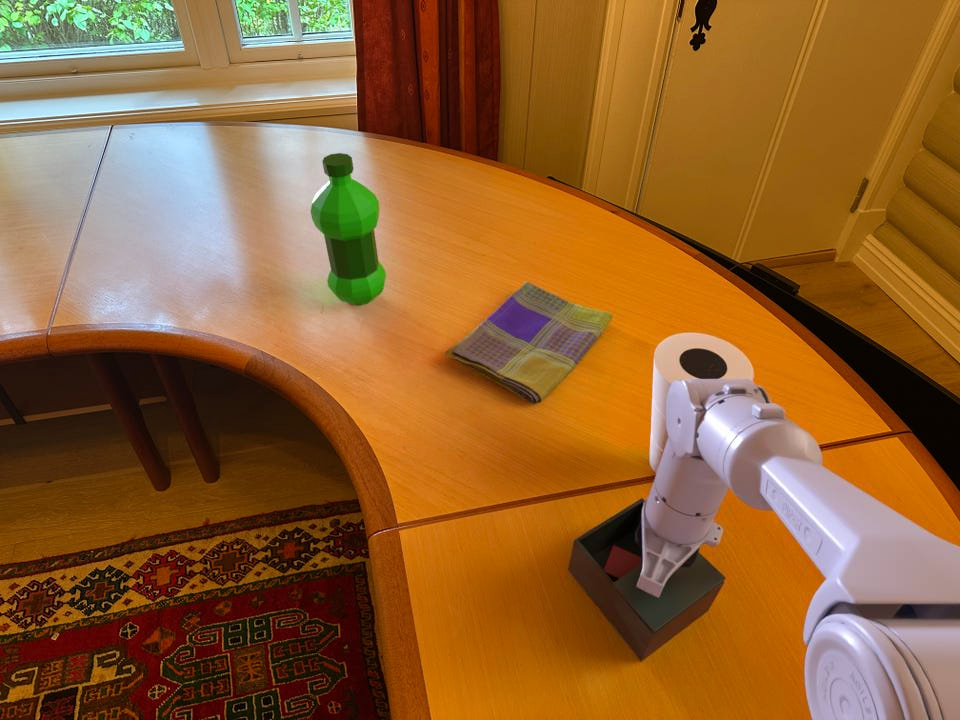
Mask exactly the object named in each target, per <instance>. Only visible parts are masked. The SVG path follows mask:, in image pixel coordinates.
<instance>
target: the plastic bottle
mask: <svg viewBox="0 0 960 720" xmlns="http://www.w3.org/2000/svg"><path fill="white" fill-rule="evenodd" d="M322 167H323V172H324V174H325V175H326V176H328V181H327V183H325V184H324V185H323V186H322V187H321V188H320V189H319V191H317V192H316V193H315V195H314V198H313V200H312V203H311V208H310V216H311V219H312V223H313V224H314V226H315V228H316V229H317V230H319V232H320V233H322V234H323V237H324V242H325V247H326V252H327V257H328V261H329V267H330V269H329V273H328V277H327V286H328V288H329V290H330V291H331V292H332V293H333V294H334V295H335V297H337V299H338V300H339V301H341V302H344V303H348V304H349V305H351V306H357V307H358V306H364V305H368V304H370V303H371V302H372V301H374V300H375V299H376V298H377V297H378V296H380V295H381V294H382V293H383V291H384V288H385V283H386V279H387V274H386V269H385V268H384V266H383V264H381V262H380V261H379V255H378V249H377V241H376V233H375V229H376V228H377V225H378V221H379V217H380V201H379V199H378V197H377V196H376V194H375V193H374V192H373V191H371V190H370V189H369V187H367V186H365V185H363V184H362V183H361V182H359V181H357V180H355V179H353V178H352V174H353V173H354V163H353V157H352V156H351V155H349V154H348V153H341V152H337V153H331V154H328V155H326V156H325V157H323V158H322Z"/></svg>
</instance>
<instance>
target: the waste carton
mask: <svg viewBox="0 0 960 720" xmlns="http://www.w3.org/2000/svg"><path fill="white" fill-rule="evenodd" d="M645 500H646V499H644V498H643V497H641V498H639V499H638V500H636V501H635V502H633V503H631V504H630V505H627V506H626V507H625V508H623V509H622V510H619V511H618V512H617V513H615V514H613V515H612V516H610V517H608V518H606V520H604V521H602V522H601V523H599V524H597V525H596V526H594V527H593V528H591V529H589V530H587V531H586V532H584V533H583V534H581V535H579V536H578V537H576V538H574V539H573V542H572V546H571V547H572V548H571V552H570V558H569V563H568V567H567V571H568V572H569V573H570V574H571V576H572V577H573V578H574V580H575V581H576V582H577V583H578V585H579V586H580V587H581V588H582V590H583V591H584V592H585V593H586V595H587V596H588V597H589V599H590V601H592V602H593V603H594V605H595V606H596V607H597V608H598V610H599V611H600V612H601V614H602V615H603V616H604V617H605V618H606V620H607V621H608V622H609V624H610V625H611V626H612V627H613V629H614V630H615V631H616V632H617V634H618V635H619V636H620V637H621V639H622V640H623V641H624V643H625V644H626V645H627V646H628V648H629V649H630V650H631V651H632V652H633V654H634V655H635V657H637V659H638V660H639V662H643V661H644V660H646V659H647V658H648V657H650V656H651V655H652V654H654V653H655V652H656V651H657V650H659V649H660V648H661V647H663V646H664V645H666V644H667V643H668V642H670V641H671V640H672V639H673V638H675V637H676V636H677V635H679V634H680V633H682V632H683V631H684V630H685V629H686V628H688V627H689V626H691V624H693V623H694V622H696V621H697V620H698V619H700V618H701V617H703V615H705V614H706V613H707V612H709V610H710V609H711V607H712V605H713V604H714V602H715V600H716V598H717V597H718V595H719V593H720V591H721V589H723V586H724V584H725V580H724V581H723V582H722V583H720V584H719V585H717V586H716V587H715V588H713V589H712V590H711V591H709V592H708V593H707V594H705V595H704V596H703V597H701V598H700V599H699V600H697V601H696V602H695V603H693V604H692V605H691V606H689V607H688V608H687V609H685V610H684V611H683V612H681V613H680V614H678V615H677V616H676V617H674V618H673V619H672V620H670V621H669V622H668V623H666V624H665V625H664V626H662V627H661V628H660V629H658V630H657V631H656V632H653V630H652V629H651V628H650V627H649V626H648V625H647V624H646V622H645V621H644V620H643V619H642V618H641V617H640V616H639V615H638V613H637V612H636V611H635V610H634V609H633V608H632V607H631V606H630V604H629V603H628V602H627V601H626V600H625V599H624V598H623V597H622V595H621V594H620V593H619V592H618V591H617V590H616V589H615V587H614V586H613V583H614V582H613V581H612V580H611V578H610V577H609V576H608V575H607V574H606V573H605V571H604V570H603V569H604V567H605V564H606V562H607V559H608V557H609V554H610V552H611V549H612V547H613V545H614V546H617V547H619V548H621V549H623V550H626V551H628V552H630V553H632V554H635V555H637V556H639V557H642V558H643V552H642V549H641V548H640V547H639V546H638V545H637V544H636V542H635V534H636V531H637V528H638V526H639V524H640V521H641V519H642V508H643V505H644V502H645Z"/></svg>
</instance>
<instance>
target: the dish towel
mask: <svg viewBox="0 0 960 720" xmlns="http://www.w3.org/2000/svg"><path fill="white" fill-rule="evenodd" d="M612 319H613V313H611V312H609V311H603V310H600V309H595V308H590V307H587V306H582V305H580V304H576V303H573V302H570V301H569V300H566V299H565V298H563V297H560V296H559V295H556V294H554V293H552V292H549V291H547V290H545V289H544V288H541V287H539V286H537V285H535V284H534V283H531V282H530V281H525V282H524V283H523V284H522V285H521V286H520V287H519V288H518V289H517V290H515V292H513V293H512V294H511V295H510V296H509V297H508V298H507V299H506V300H505V301H504V302H503V303H502V304H501V305H500V306H499V307H498V308H497V309H496V310H495V311H494V312H493V313H491V314H490V315H489V316H488V317H487V318H486V319H485V320H484V321H483V322H482V323H481V324H479V325H478V326H477V327H475V328H474V329H473V330H472V331H471V332H470V333H469V334H468V335H467V336H465V337H464V338H462V339H461V340H460V341H459V342H457V343H456V344H454V345H452V346H451V347H450V348H448V349H447V350H446V351H445V353H444V354H445V356H446V357H448V358H451V359H452V360H454V361H456V362H458V363H460V364H461V365H464V366H466V367H468V368H470V369H472V370H473V371H475V372H477V373H479V374H481V375H483V376H484V377H486V378H487V379H489V380H490V381H492V382H494V383H495V384H497V385H498V386H500V387H502V388H504V389H505V390H507V391H509V392H510V393H512V394H514V395H516V396H518V397H519V398H521V399H522V400H524V401H525V402H528V403H530V404H537V403H542V402H543V400H545V398H546V397H547V396H549V394H551V393H552V392H553V391H554V390H555V389H556V388H557V386H559V384H561V382H562V381H563V380H564V379H565V378H566V377H567V375H569V374H570V373H571V372H572V371H573V370H574V369H575V367H576V366H577V365H578V364H579V363H580V361H581V360H582V358H583V357H584V356H585V355H586V354H587V352H588V350H590V349H591V347H592V346H593V345H594V343H595V342H597V340H598V338H599V337H600V336H601V335H602V334H603V332H604V331H605V329H606V328H607V326H608V325H609V323H610V322H611V321H612Z"/></svg>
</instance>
